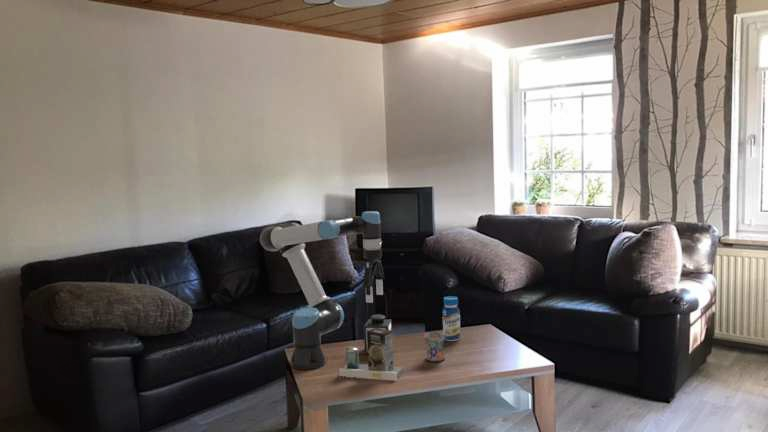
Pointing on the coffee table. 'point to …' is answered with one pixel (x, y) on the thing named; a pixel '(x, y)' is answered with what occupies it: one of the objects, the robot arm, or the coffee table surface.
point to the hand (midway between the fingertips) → (374, 298)
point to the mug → (434, 346)
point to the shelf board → (371, 373)
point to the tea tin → (352, 357)
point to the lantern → (376, 325)
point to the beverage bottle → (451, 319)
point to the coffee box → (380, 349)
